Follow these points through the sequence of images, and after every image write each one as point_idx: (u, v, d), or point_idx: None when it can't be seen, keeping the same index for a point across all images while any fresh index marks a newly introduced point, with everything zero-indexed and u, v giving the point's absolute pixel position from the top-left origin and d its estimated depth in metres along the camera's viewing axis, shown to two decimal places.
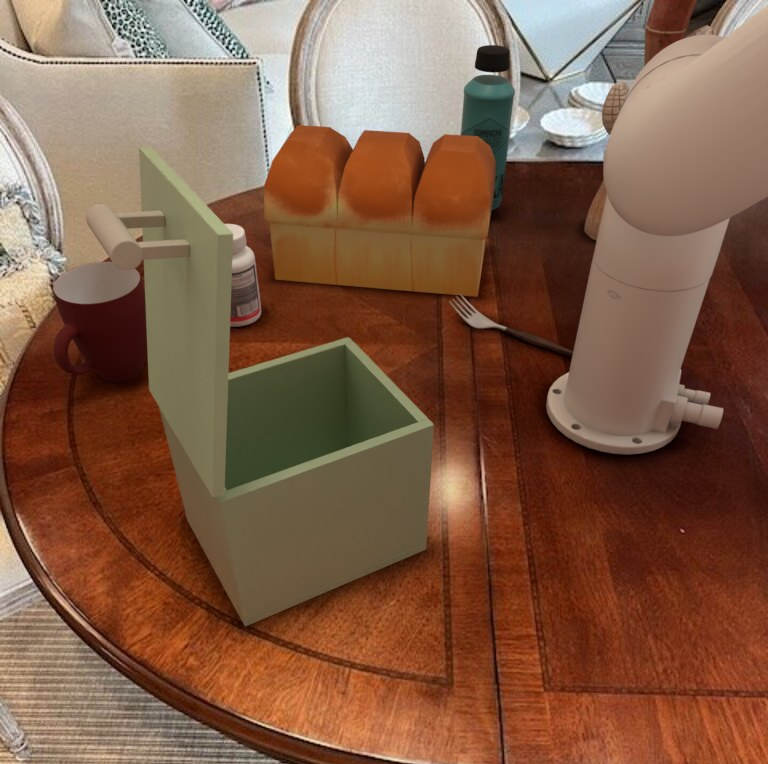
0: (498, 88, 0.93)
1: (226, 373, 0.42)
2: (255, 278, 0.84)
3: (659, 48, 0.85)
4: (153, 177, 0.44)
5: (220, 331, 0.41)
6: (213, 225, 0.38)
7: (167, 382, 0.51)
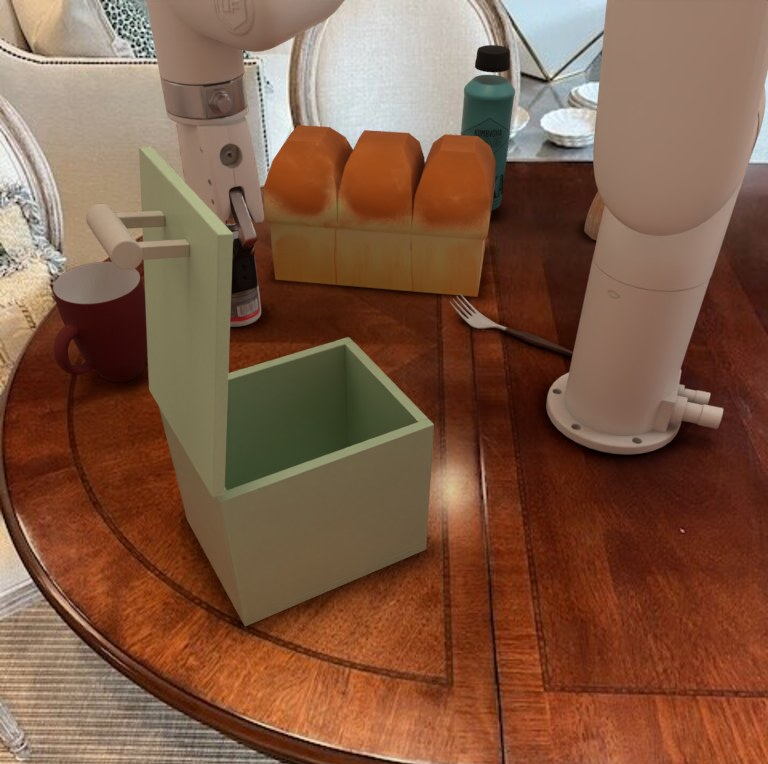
0: (498, 88, 0.93)
1: (226, 373, 0.42)
2: None
3: None
4: (153, 177, 0.44)
5: (220, 331, 0.41)
6: (213, 225, 0.38)
7: (167, 382, 0.51)
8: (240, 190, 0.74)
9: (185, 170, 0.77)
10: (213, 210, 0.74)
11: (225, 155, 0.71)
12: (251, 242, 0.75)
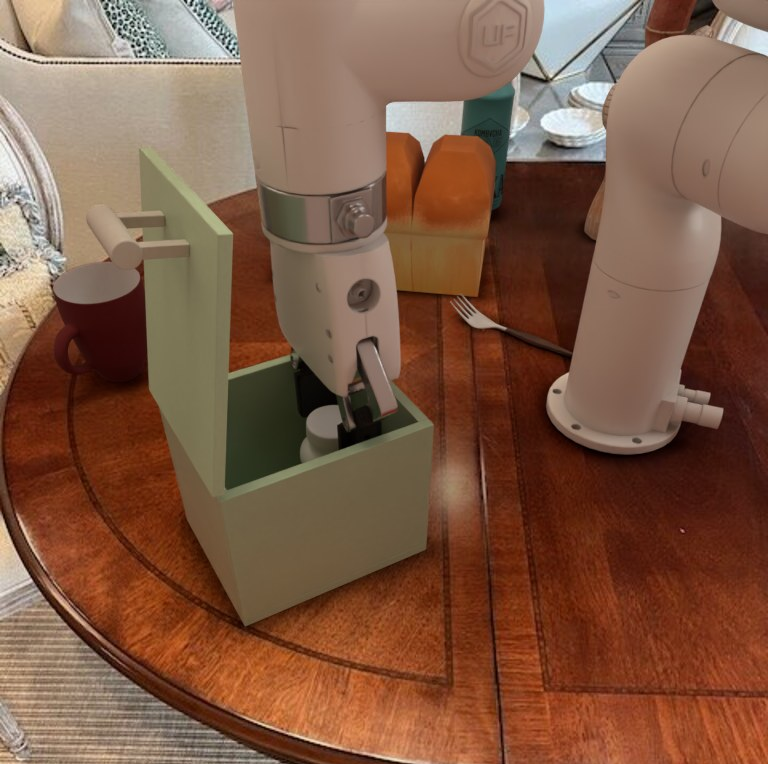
0: None
1: (226, 373, 0.42)
2: None
3: None
4: (153, 177, 0.44)
5: (220, 331, 0.41)
6: (213, 225, 0.38)
7: (167, 382, 0.51)
8: (372, 339, 0.48)
9: (281, 301, 0.52)
10: (329, 369, 0.49)
11: (354, 294, 0.46)
12: (389, 414, 0.49)
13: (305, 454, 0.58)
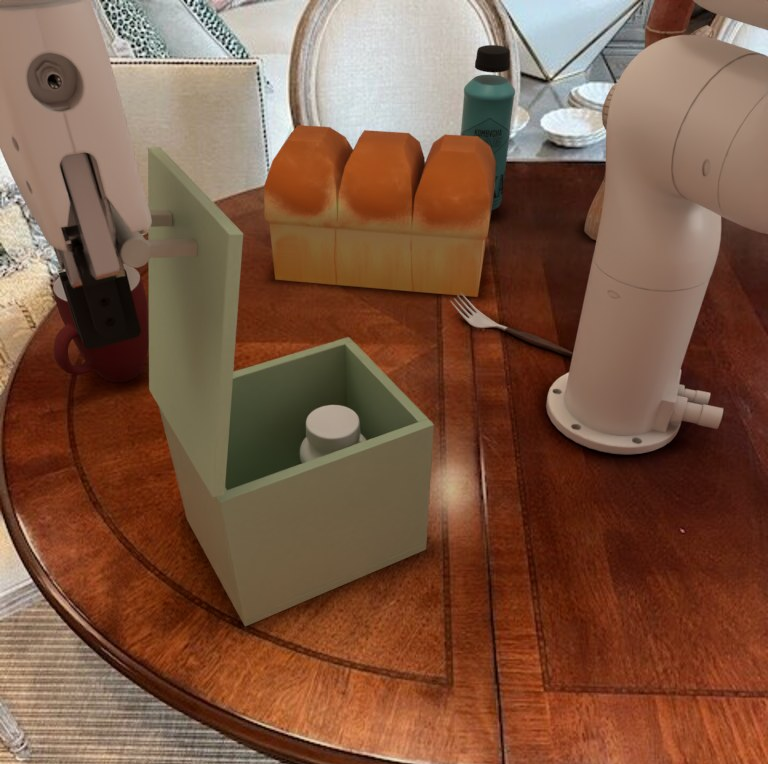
0: (498, 88, 0.93)
1: (231, 373, 0.43)
2: None
3: None
4: (162, 177, 0.44)
5: (226, 330, 0.41)
6: (223, 224, 0.38)
7: (168, 381, 0.51)
8: (90, 170, 0.35)
9: None
10: (34, 206, 0.35)
11: (44, 81, 0.32)
12: None
13: (305, 454, 0.58)
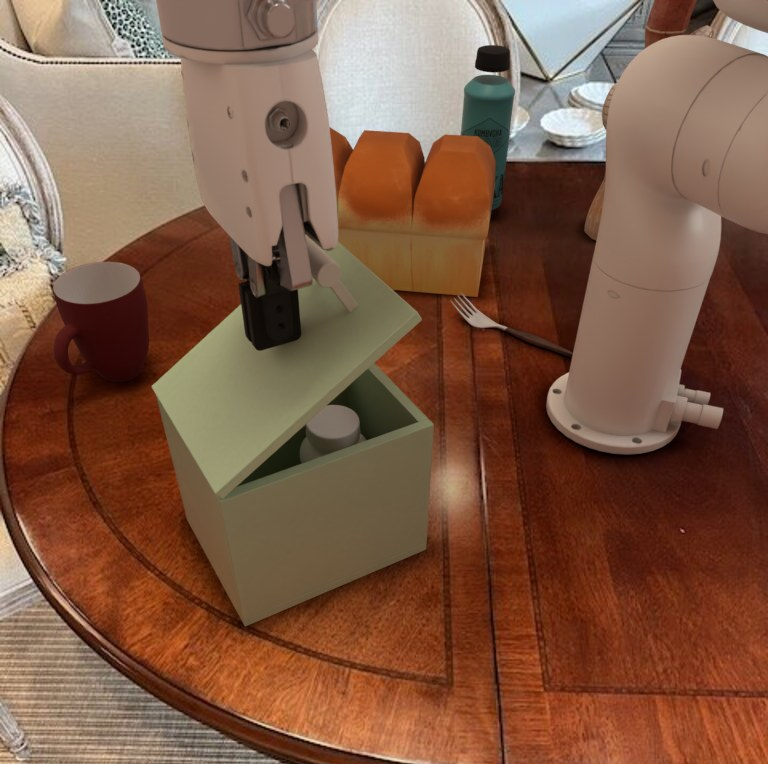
0: (498, 88, 0.93)
1: (326, 404, 0.47)
2: None
3: None
4: (331, 251, 0.53)
5: (354, 372, 0.47)
6: (409, 305, 0.47)
7: (205, 387, 0.52)
8: (298, 197, 0.40)
9: (197, 155, 0.43)
10: (249, 227, 0.40)
11: (275, 124, 0.37)
12: None
13: (305, 454, 0.58)
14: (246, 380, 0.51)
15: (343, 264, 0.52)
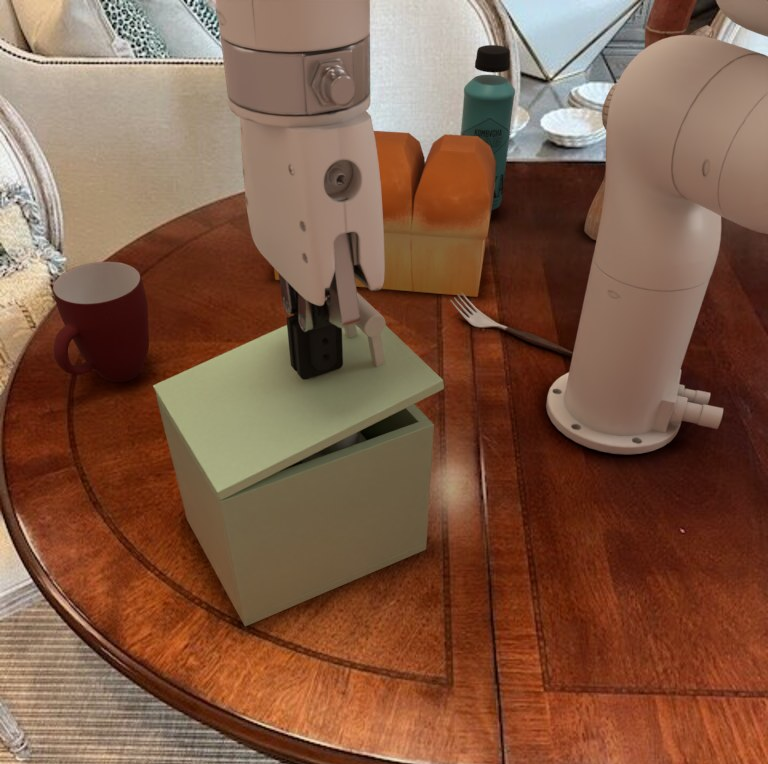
0: (498, 88, 0.93)
1: (342, 438, 0.50)
2: None
3: None
4: None
5: (376, 416, 0.50)
6: (435, 373, 0.52)
7: (215, 397, 0.53)
8: (349, 243, 0.44)
9: (252, 201, 0.47)
10: (304, 271, 0.44)
11: (332, 179, 0.41)
12: None
13: None
14: (262, 400, 0.52)
15: None
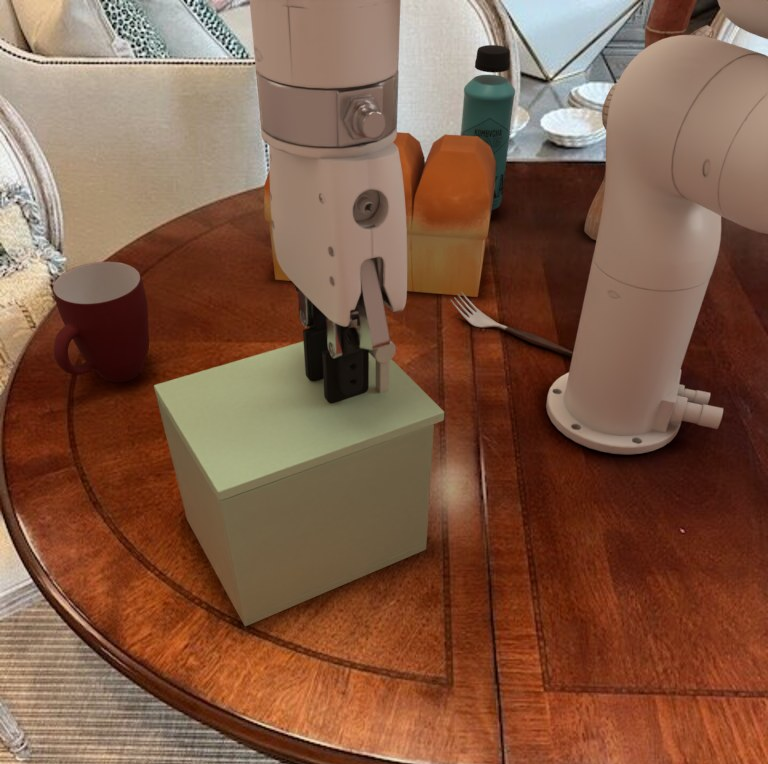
0: (498, 88, 0.93)
1: (344, 454, 0.51)
2: None
3: None
4: None
5: (379, 438, 0.52)
6: (436, 405, 0.54)
7: (218, 403, 0.54)
8: (375, 266, 0.45)
9: (279, 225, 0.48)
10: (330, 294, 0.45)
11: (360, 207, 0.42)
12: None
13: None
14: (265, 411, 0.53)
15: None
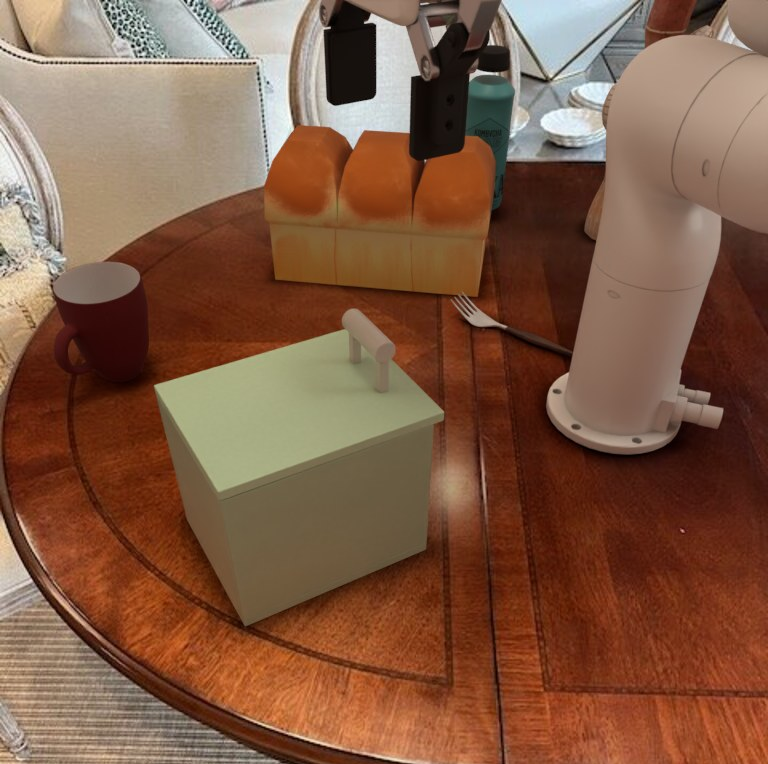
0: (498, 88, 0.93)
1: (344, 454, 0.51)
2: None
3: None
4: None
5: (379, 437, 0.52)
6: (436, 405, 0.54)
7: (218, 403, 0.54)
8: None
9: None
10: None
11: None
12: (491, 5, 0.35)
13: None
14: (265, 411, 0.53)
15: None
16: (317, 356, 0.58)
